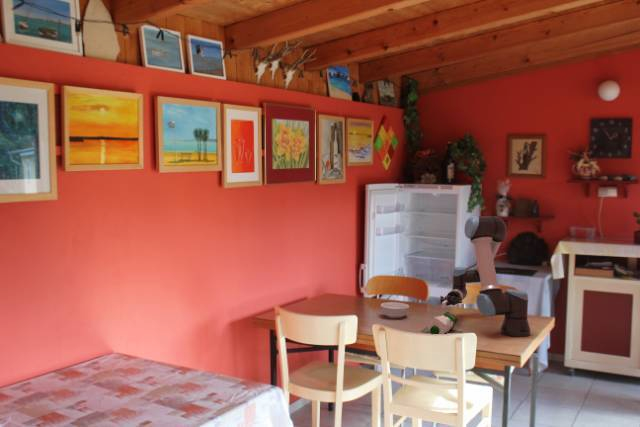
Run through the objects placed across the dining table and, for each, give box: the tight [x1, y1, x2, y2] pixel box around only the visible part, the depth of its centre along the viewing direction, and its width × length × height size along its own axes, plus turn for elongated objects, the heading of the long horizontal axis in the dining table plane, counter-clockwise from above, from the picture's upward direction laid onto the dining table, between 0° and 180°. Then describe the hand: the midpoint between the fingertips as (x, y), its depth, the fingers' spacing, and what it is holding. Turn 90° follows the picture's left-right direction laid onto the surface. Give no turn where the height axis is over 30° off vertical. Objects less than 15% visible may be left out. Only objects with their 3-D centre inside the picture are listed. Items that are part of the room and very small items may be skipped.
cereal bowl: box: [380, 301, 410, 319], centre depth 373 cm, size 17×17×7 cm
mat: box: [420, 326, 463, 334], centre depth 341 cm, size 20×10×1 cm, turn 63°
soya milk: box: [428, 311, 459, 335], centre depth 337 cm, size 9×9×20 cm
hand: (443, 305), depth 342 cm, fingers closed
